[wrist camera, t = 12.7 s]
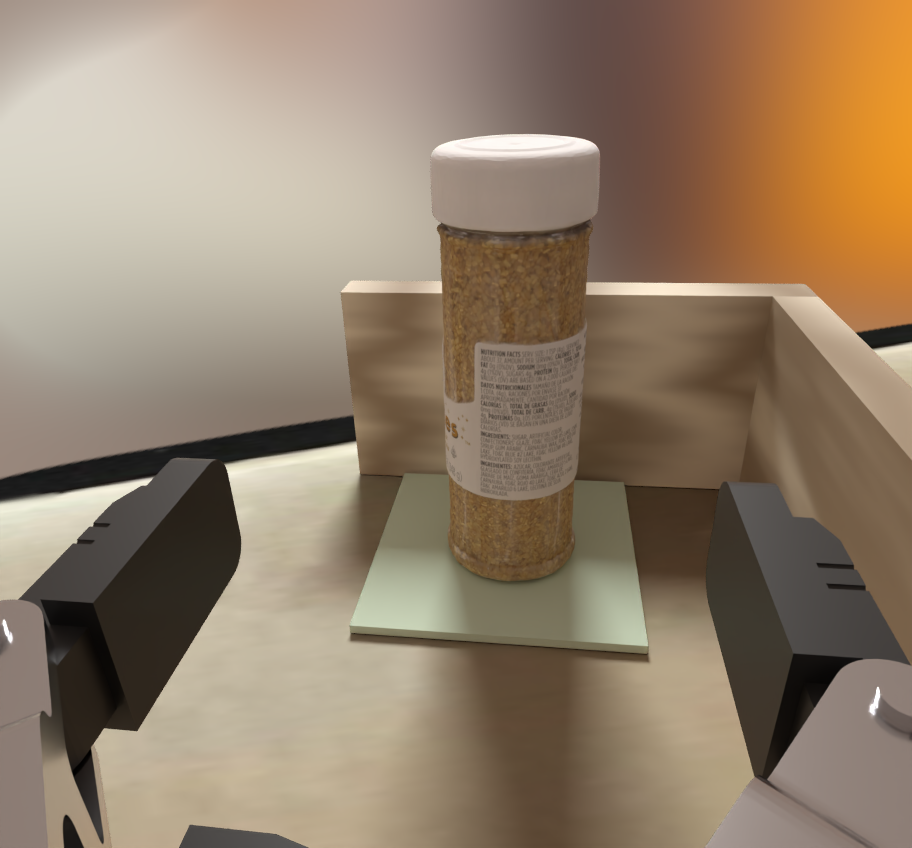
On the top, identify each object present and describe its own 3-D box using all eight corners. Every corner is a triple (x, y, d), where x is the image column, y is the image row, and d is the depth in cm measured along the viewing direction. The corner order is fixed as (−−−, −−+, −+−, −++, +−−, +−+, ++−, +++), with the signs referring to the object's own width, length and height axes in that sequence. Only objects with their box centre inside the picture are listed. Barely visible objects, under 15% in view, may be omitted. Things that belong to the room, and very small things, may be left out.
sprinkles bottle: (450, 509, 28) (434, 133, 21) (570, 509, 27) (589, 128, 21) (444, 589, 23) (423, 154, 17) (584, 590, 23) (614, 149, 17)
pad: (623, 488, 29) (624, 482, 29) (647, 653, 21) (648, 646, 21) (405, 479, 30) (404, 472, 30) (350, 632, 22) (349, 625, 22)
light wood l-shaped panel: (767, 471, 30) (805, 284, 26) (987, 924, 14) (1154, 624, 11) (368, 456, 32) (350, 280, 28) (191, 836, 17) (102, 561, 13)
